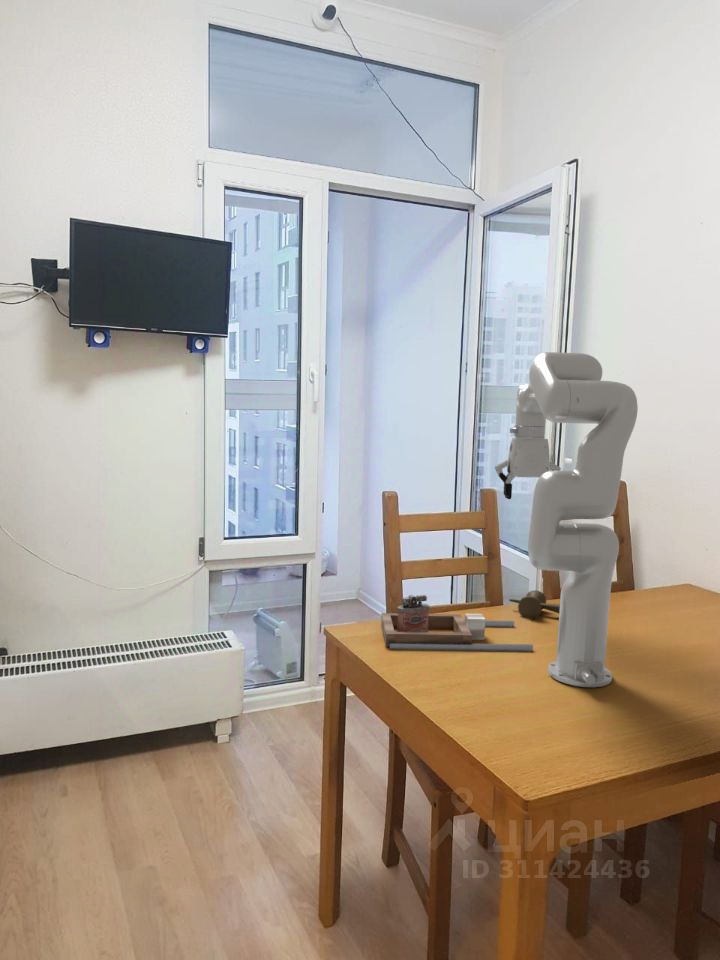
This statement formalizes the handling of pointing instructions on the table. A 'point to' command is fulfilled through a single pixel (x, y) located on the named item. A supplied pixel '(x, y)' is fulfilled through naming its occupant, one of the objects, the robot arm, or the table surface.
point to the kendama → (534, 604)
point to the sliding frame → (463, 630)
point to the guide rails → (467, 646)
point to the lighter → (413, 614)
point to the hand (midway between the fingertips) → (526, 498)
